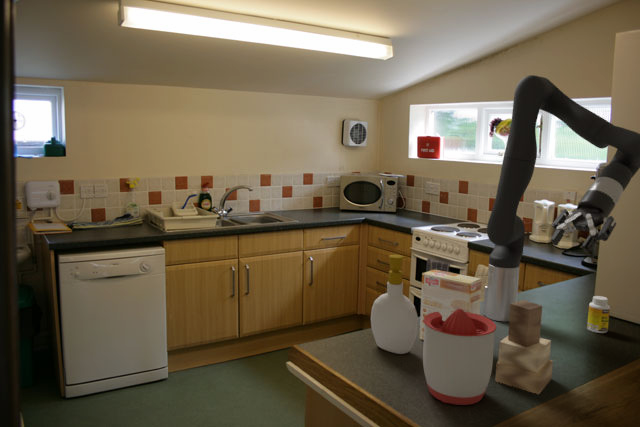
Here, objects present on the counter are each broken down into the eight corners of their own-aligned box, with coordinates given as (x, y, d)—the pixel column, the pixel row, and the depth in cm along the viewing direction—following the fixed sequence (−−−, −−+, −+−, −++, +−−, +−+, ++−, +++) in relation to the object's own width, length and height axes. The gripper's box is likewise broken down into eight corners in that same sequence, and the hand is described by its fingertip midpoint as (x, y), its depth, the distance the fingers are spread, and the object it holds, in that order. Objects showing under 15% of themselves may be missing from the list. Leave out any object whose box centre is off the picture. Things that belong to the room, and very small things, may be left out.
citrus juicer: (476, 374, 130) (480, 295, 127) (502, 411, 113) (508, 321, 110) (412, 374, 130) (415, 295, 127) (429, 411, 113) (433, 321, 110)
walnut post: (508, 339, 127) (510, 303, 126) (521, 335, 130) (523, 300, 129) (526, 347, 123) (529, 309, 122) (539, 342, 126) (542, 305, 125)
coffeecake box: (479, 346, 147) (483, 278, 144) (466, 354, 142) (470, 283, 139) (431, 332, 158) (434, 268, 155) (418, 339, 152) (421, 272, 149)
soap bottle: (425, 351, 144) (429, 257, 140) (406, 361, 137) (410, 262, 133) (382, 337, 153) (385, 248, 149) (362, 346, 147) (365, 253, 143)
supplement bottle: (601, 335, 157) (604, 301, 156) (583, 329, 162) (586, 296, 160) (611, 331, 160) (614, 298, 159) (593, 325, 165) (596, 293, 163)
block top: (498, 361, 127) (499, 341, 126) (511, 350, 134) (513, 331, 133) (537, 372, 121) (539, 352, 120) (549, 360, 128) (550, 340, 127)
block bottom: (495, 382, 127) (496, 362, 126) (509, 368, 135) (511, 349, 134) (538, 395, 121) (540, 375, 120) (551, 380, 129) (552, 360, 128)
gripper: (570, 186, 141) (537, 232, 138) (623, 191, 129) (589, 242, 125) (580, 204, 145) (549, 250, 141) (633, 212, 133) (600, 262, 129)
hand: (568, 246), depth 133 cm, fingers open, 8 cm apart
